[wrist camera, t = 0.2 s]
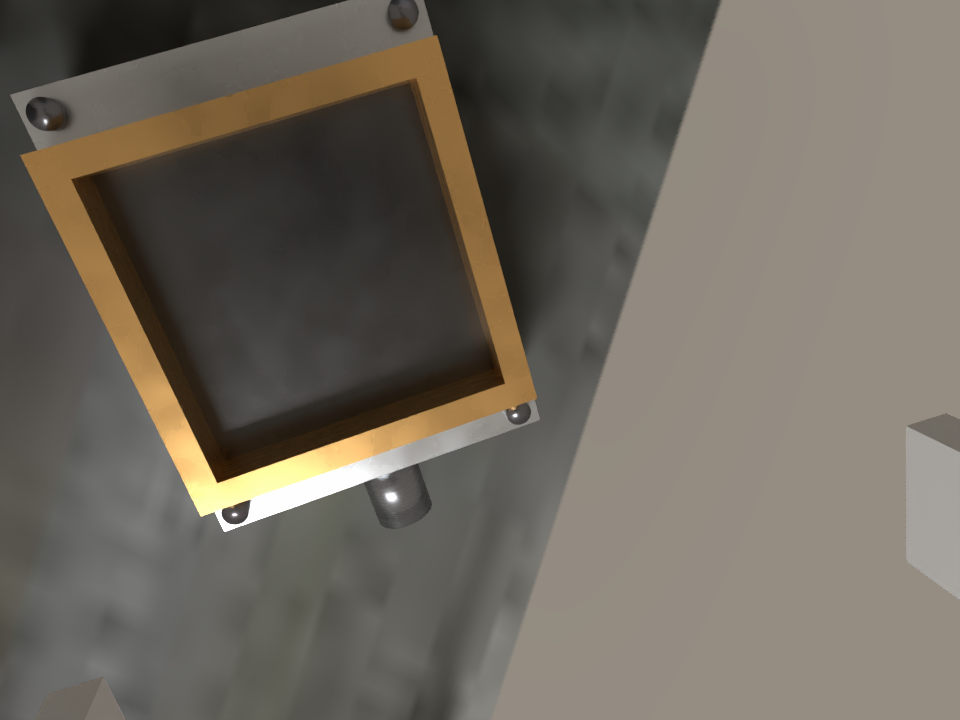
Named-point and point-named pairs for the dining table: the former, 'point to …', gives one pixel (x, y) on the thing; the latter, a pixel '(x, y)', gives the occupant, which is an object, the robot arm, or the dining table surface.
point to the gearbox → (289, 256)
